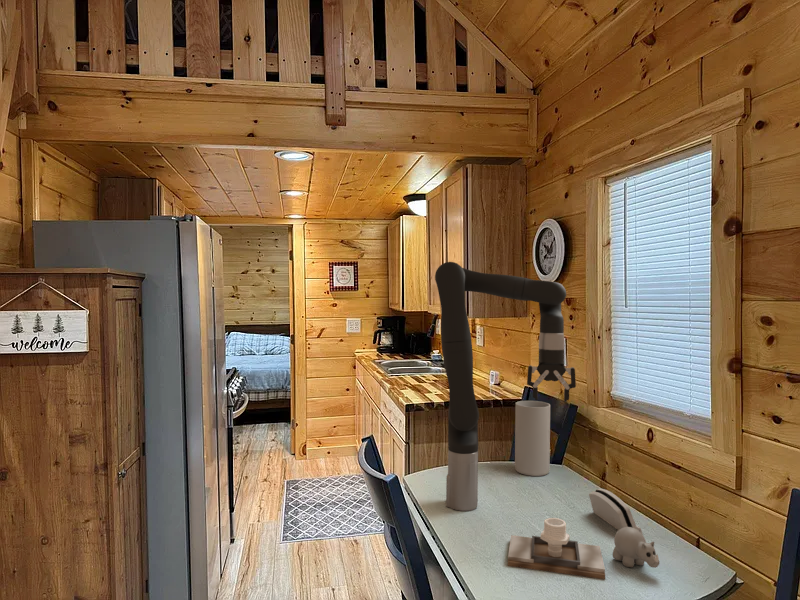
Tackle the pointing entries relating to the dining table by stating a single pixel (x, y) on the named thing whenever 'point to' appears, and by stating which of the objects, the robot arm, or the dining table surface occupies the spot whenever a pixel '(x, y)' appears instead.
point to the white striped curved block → (612, 509)
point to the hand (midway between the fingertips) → (550, 400)
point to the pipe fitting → (555, 535)
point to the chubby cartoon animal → (634, 548)
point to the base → (571, 560)
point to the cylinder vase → (532, 438)
